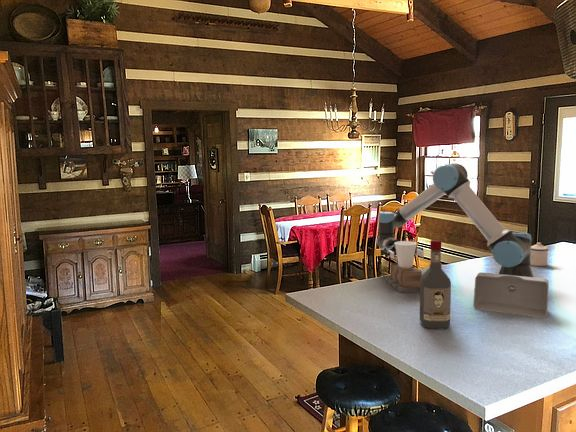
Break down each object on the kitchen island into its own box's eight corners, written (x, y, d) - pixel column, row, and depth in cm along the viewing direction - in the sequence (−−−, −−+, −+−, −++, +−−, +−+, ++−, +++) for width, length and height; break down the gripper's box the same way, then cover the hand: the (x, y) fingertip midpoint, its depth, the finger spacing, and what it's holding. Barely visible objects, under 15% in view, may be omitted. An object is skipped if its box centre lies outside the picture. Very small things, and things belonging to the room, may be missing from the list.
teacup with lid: (547, 263, 251) (548, 241, 249) (547, 266, 243) (548, 244, 241) (522, 261, 256) (523, 240, 255) (522, 265, 248) (522, 243, 247)
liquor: (418, 320, 169) (419, 238, 166) (443, 319, 169) (445, 238, 165) (424, 329, 160) (426, 243, 157) (451, 329, 160) (453, 242, 156)
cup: (414, 264, 217) (414, 241, 215) (418, 269, 207) (418, 245, 206) (392, 264, 218) (393, 241, 216) (395, 269, 208) (395, 245, 207)
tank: (547, 305, 182) (548, 274, 181) (547, 318, 168) (548, 284, 167) (478, 297, 194) (479, 268, 193) (473, 309, 181) (473, 277, 179)
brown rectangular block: (386, 281, 222) (386, 263, 221) (410, 280, 223) (411, 262, 222) (399, 292, 204) (399, 272, 203) (425, 291, 205) (426, 271, 204)
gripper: (417, 252, 231) (435, 262, 210) (367, 254, 228) (380, 264, 207) (417, 237, 230) (435, 245, 209) (367, 239, 227) (380, 248, 207)
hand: (408, 255), depth 208 cm, fingers open, 13 cm apart
